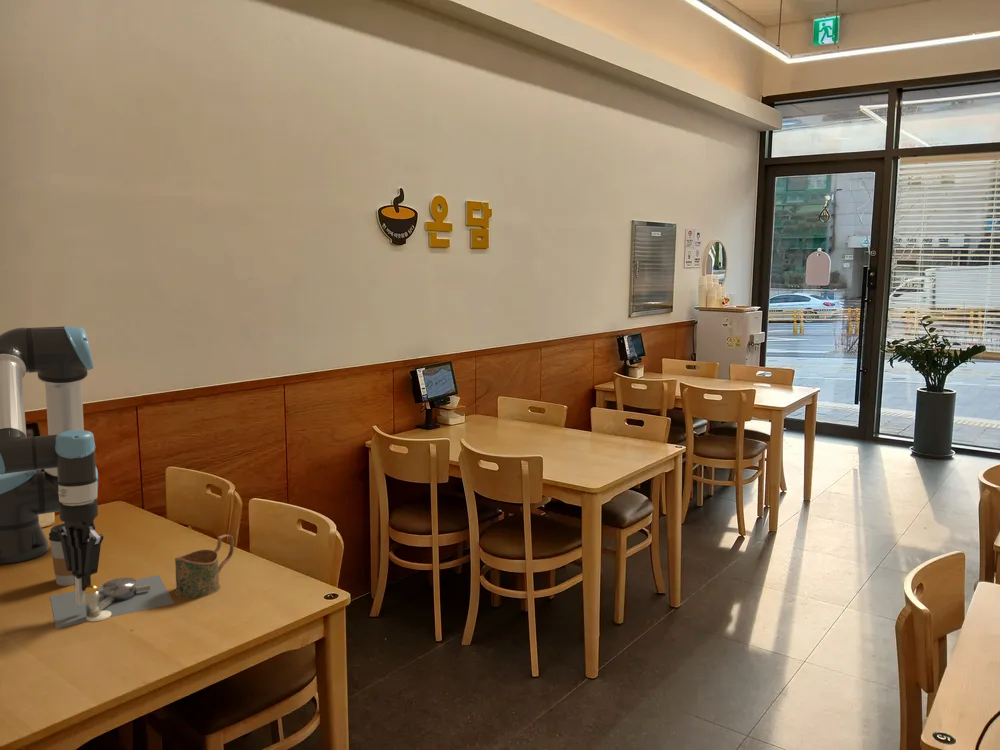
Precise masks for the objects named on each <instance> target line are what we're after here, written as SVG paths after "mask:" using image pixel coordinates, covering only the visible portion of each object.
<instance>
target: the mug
mask: <svg viewBox="0 0 1000 750" xmlns="http://www.w3.org/2000/svg"><path fill="white" fill-rule="evenodd" d="M227 537H228V538H229V552H228V554H227V557H226V558H224V560H223V561H221V563H220V564H219V561H218V560H219V555H218V553H219V551H220V550H221V547H222V539H224V538H227ZM234 549H235V541H234V536H233V535H231V534H222V535H219V536H217V544H216V547H215V549H214V550H212V549H199V550H195V551H192V552H190V553H187V554H184V555H180V556H176V557H174V563H175V585H176V590H175V592H174V593H175V595H176V597H179V598H182V599H199V598H205V597H208V596H210V595H213V594H216V593H218V592H219V591H220V589H221V587H222V586H221V584H220V577H219V576H220V575H219V574H220V572H221V570H222V569H223V568H224V566H225V565H226V564H227V563H228V562H229V561H230V559H231V558H232V557H233V554H234Z"/></svg>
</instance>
